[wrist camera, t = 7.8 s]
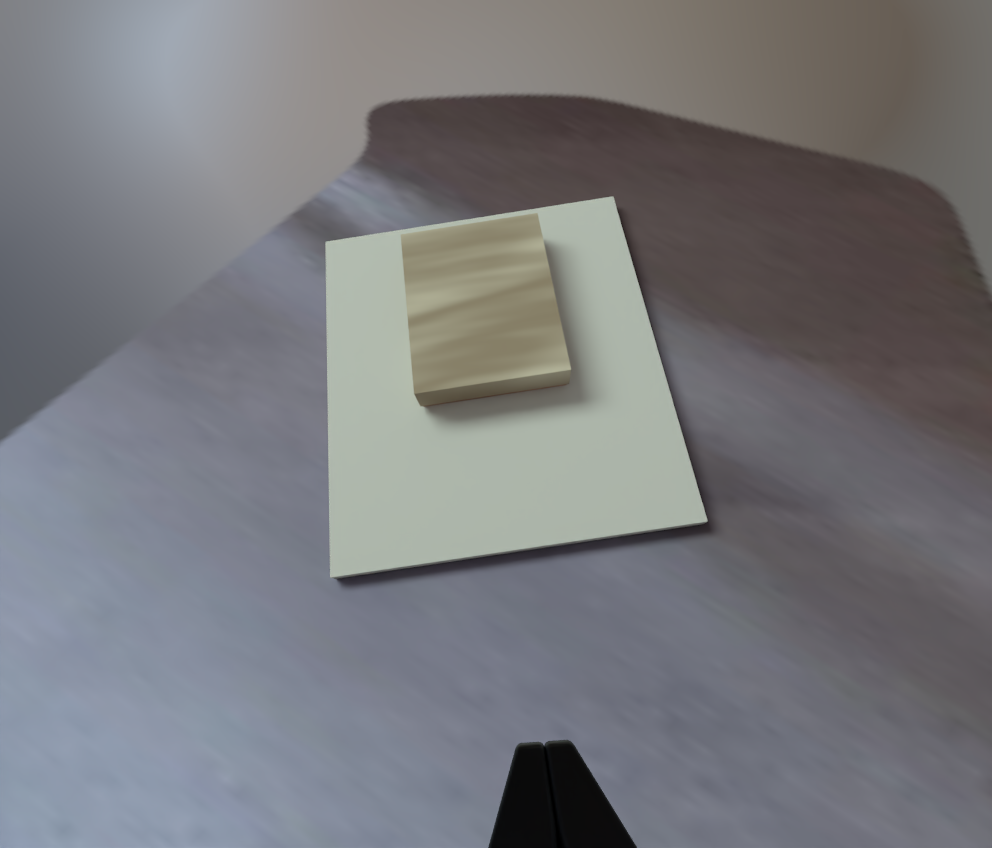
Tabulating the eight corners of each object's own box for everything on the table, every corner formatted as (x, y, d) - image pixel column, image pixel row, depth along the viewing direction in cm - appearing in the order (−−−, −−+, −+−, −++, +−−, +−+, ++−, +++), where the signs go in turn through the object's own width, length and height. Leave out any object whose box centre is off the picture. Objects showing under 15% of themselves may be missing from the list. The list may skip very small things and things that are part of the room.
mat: (703, 524, 22) (707, 521, 22) (335, 578, 22) (330, 577, 22) (611, 204, 29) (613, 196, 28) (329, 249, 29) (325, 241, 28)
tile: (571, 369, 23) (537, 213, 26) (413, 393, 23) (400, 234, 26) (568, 386, 24) (537, 236, 28) (421, 409, 24) (408, 257, 28)
